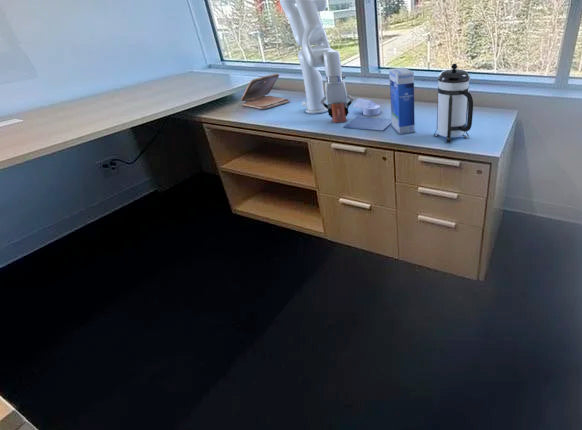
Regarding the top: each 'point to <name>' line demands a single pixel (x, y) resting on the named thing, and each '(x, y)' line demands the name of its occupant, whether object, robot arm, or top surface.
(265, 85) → the case
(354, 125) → the blue rectangular mat
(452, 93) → the coffee press
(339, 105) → the mug
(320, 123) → the top surface
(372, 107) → the wedge on round base
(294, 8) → the robot arm
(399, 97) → the string lights box
